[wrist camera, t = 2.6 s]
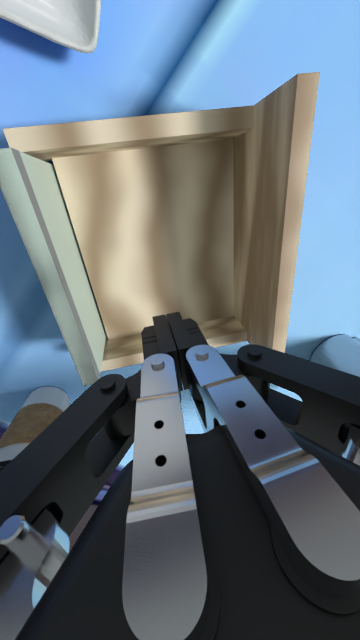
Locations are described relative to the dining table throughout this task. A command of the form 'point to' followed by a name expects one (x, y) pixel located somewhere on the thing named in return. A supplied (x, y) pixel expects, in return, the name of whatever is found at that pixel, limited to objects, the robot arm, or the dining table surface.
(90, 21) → the square plate
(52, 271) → the panel
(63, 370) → the dining table surface
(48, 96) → the dining table surface
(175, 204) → the tray
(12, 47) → the dining table surface
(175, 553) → the robot arm
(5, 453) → the coffee cup
